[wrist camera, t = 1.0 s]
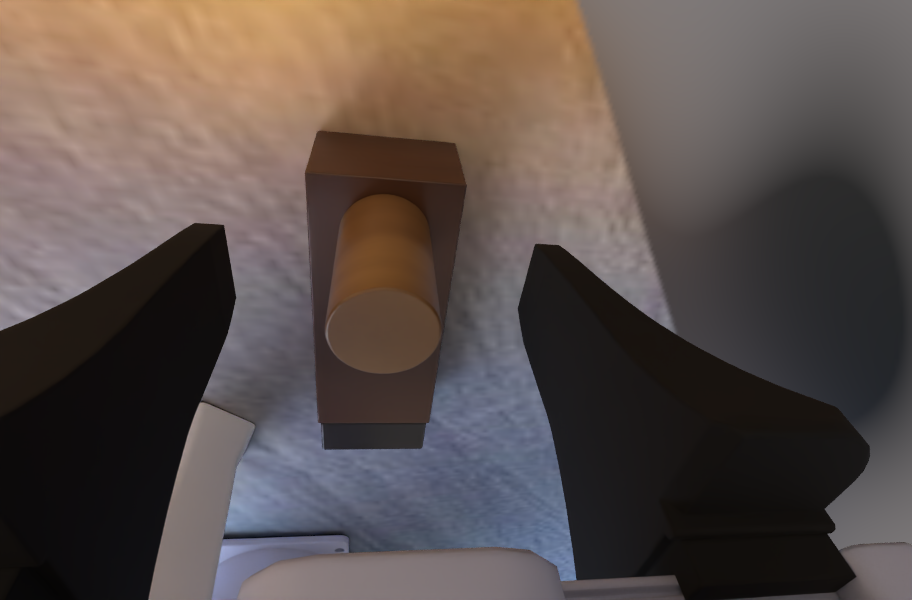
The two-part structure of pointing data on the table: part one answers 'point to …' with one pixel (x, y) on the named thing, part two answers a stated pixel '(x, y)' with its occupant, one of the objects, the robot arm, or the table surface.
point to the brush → (380, 282)
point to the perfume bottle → (199, 506)
